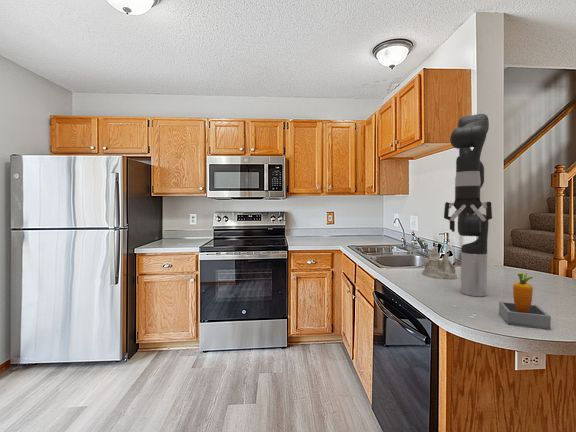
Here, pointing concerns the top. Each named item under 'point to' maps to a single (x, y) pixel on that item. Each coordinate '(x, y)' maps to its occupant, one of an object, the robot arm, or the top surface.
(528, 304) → the carrot
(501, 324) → the top surface
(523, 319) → the bin
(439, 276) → the ceramic cottage
